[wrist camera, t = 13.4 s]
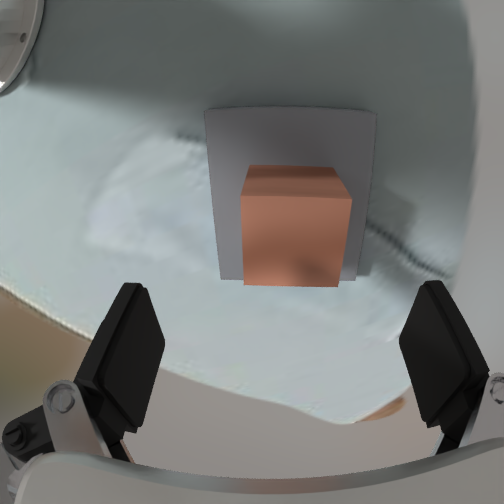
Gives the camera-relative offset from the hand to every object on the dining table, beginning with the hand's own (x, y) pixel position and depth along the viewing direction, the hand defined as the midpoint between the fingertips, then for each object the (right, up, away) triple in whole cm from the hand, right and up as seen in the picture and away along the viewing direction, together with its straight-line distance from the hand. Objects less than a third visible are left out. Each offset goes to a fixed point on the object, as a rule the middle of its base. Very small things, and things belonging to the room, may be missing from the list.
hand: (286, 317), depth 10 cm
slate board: (+1, +6, +10) cm, 12 cm away
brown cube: (+1, +5, +9) cm, 10 cm away
